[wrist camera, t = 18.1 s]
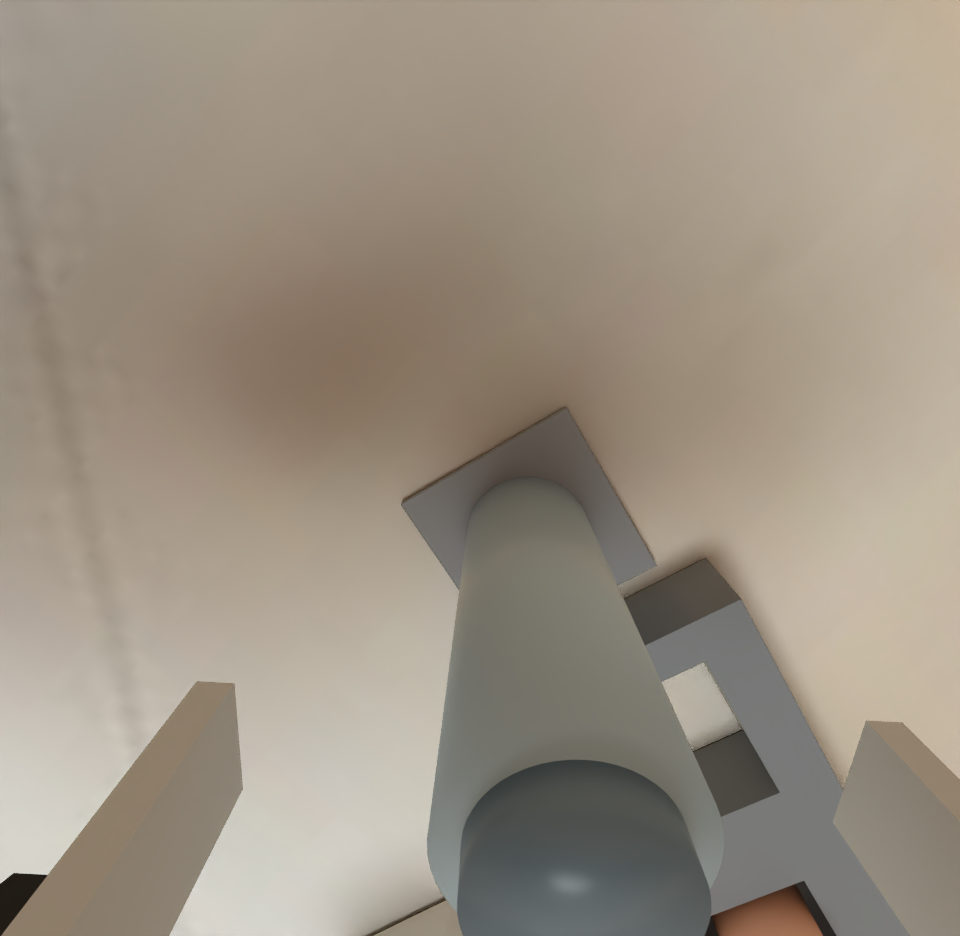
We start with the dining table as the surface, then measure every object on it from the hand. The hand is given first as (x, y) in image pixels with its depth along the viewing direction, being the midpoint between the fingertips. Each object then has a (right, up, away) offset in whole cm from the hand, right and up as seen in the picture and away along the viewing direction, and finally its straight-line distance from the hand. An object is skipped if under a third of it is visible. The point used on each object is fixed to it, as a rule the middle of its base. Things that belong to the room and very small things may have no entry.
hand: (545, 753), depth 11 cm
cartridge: (+1, +3, +12) cm, 12 cm away
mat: (+1, +3, +12) cm, 12 cm away
